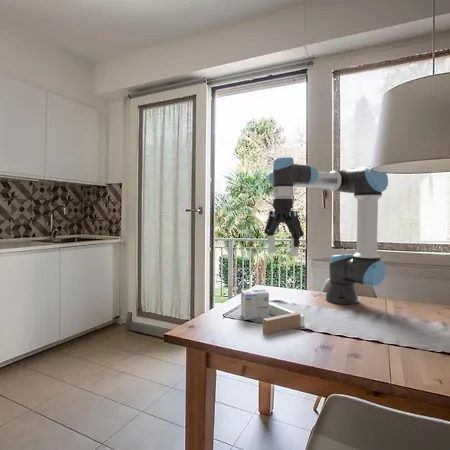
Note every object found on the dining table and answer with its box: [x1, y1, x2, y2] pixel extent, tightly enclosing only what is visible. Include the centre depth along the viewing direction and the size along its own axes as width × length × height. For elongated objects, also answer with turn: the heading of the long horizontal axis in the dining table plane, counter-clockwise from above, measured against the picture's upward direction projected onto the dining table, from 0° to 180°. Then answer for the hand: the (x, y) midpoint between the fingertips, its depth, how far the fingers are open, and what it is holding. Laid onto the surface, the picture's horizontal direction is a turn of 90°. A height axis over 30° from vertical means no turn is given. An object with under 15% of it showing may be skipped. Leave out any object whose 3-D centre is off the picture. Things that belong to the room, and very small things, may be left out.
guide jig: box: [262, 301, 305, 335], centre depth 133 cm, size 18×24×5 cm
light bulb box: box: [240, 289, 270, 321], centre depth 138 cm, size 11×7×11 cm, turn 104°
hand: (282, 253), depth 126 cm, fingers open, 13 cm apart
